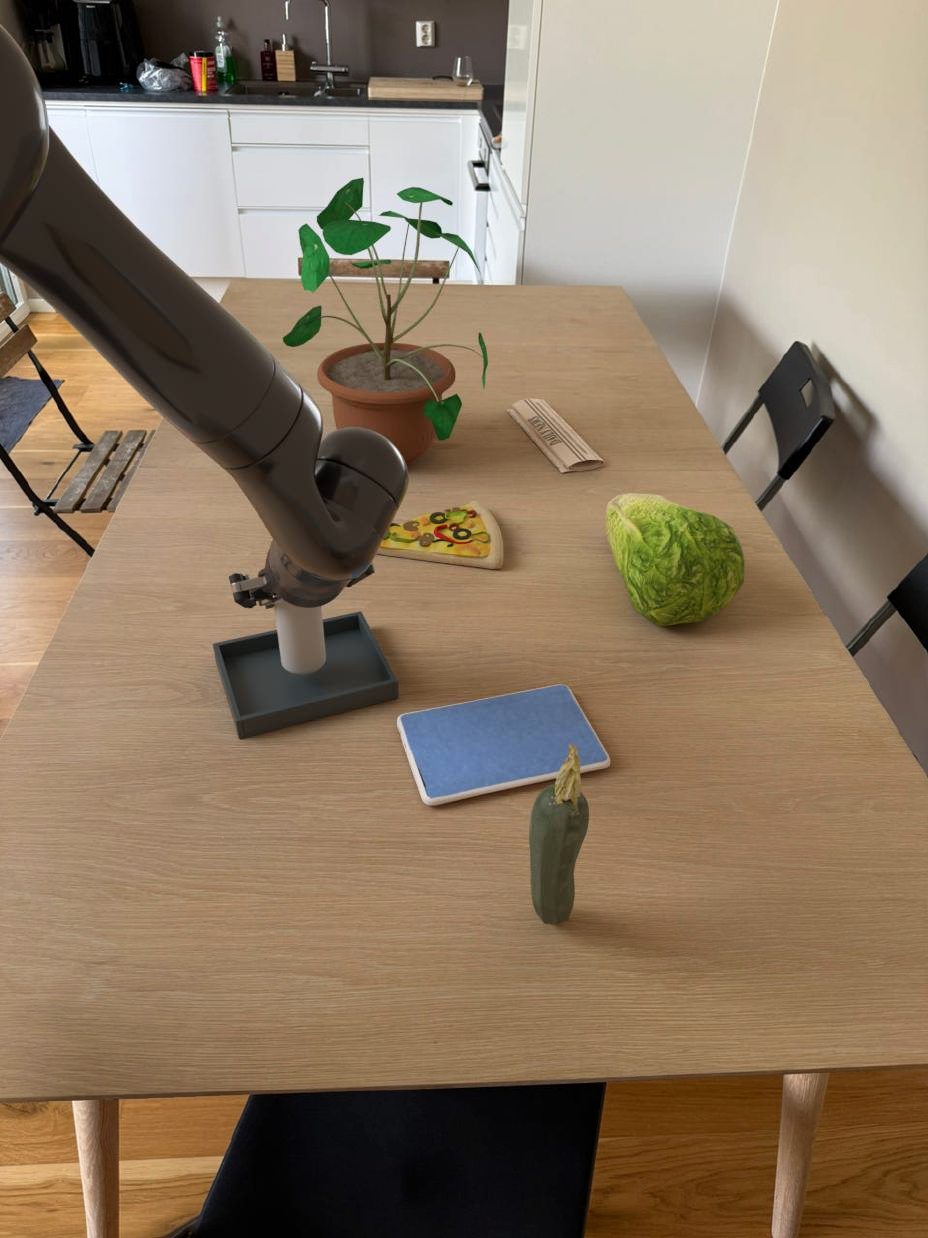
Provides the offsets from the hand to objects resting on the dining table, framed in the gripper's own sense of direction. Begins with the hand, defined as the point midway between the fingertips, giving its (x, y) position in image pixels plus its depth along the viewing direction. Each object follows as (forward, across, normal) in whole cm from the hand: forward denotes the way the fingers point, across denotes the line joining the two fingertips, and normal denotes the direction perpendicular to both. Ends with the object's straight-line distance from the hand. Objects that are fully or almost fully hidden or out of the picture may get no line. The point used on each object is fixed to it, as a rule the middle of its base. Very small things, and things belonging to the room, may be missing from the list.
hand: (292, 593), depth 93 cm
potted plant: (+42, -28, -27) cm, 57 cm away
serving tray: (+6, 0, +9) cm, 11 cm away
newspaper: (+37, -53, -22) cm, 69 cm away
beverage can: (+5, 0, +7) cm, 9 cm away
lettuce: (+9, -47, +7) cm, 48 cm away
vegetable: (-20, -11, +35) cm, 42 cm away
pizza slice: (+21, -22, -6) cm, 31 cm away
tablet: (-6, -16, +21) cm, 27 cm away
